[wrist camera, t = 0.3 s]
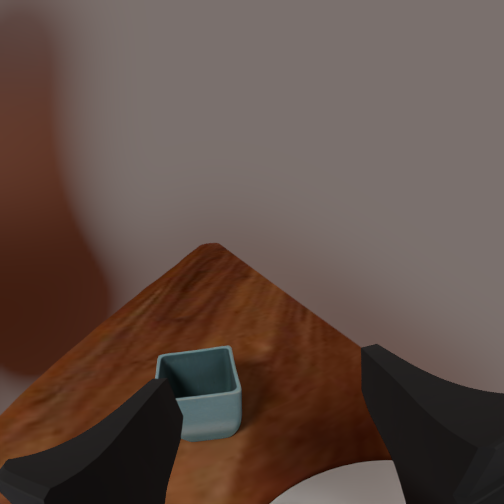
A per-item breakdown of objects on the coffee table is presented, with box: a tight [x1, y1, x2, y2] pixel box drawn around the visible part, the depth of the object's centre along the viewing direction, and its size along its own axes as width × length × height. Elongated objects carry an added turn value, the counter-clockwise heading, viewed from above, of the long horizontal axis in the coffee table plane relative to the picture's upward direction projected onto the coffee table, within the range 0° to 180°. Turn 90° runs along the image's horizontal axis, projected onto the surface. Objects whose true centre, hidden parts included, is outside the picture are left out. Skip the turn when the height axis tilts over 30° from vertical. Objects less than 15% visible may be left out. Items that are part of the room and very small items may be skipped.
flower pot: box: [155, 346, 242, 442], centre depth 31 cm, size 9×9×9 cm
